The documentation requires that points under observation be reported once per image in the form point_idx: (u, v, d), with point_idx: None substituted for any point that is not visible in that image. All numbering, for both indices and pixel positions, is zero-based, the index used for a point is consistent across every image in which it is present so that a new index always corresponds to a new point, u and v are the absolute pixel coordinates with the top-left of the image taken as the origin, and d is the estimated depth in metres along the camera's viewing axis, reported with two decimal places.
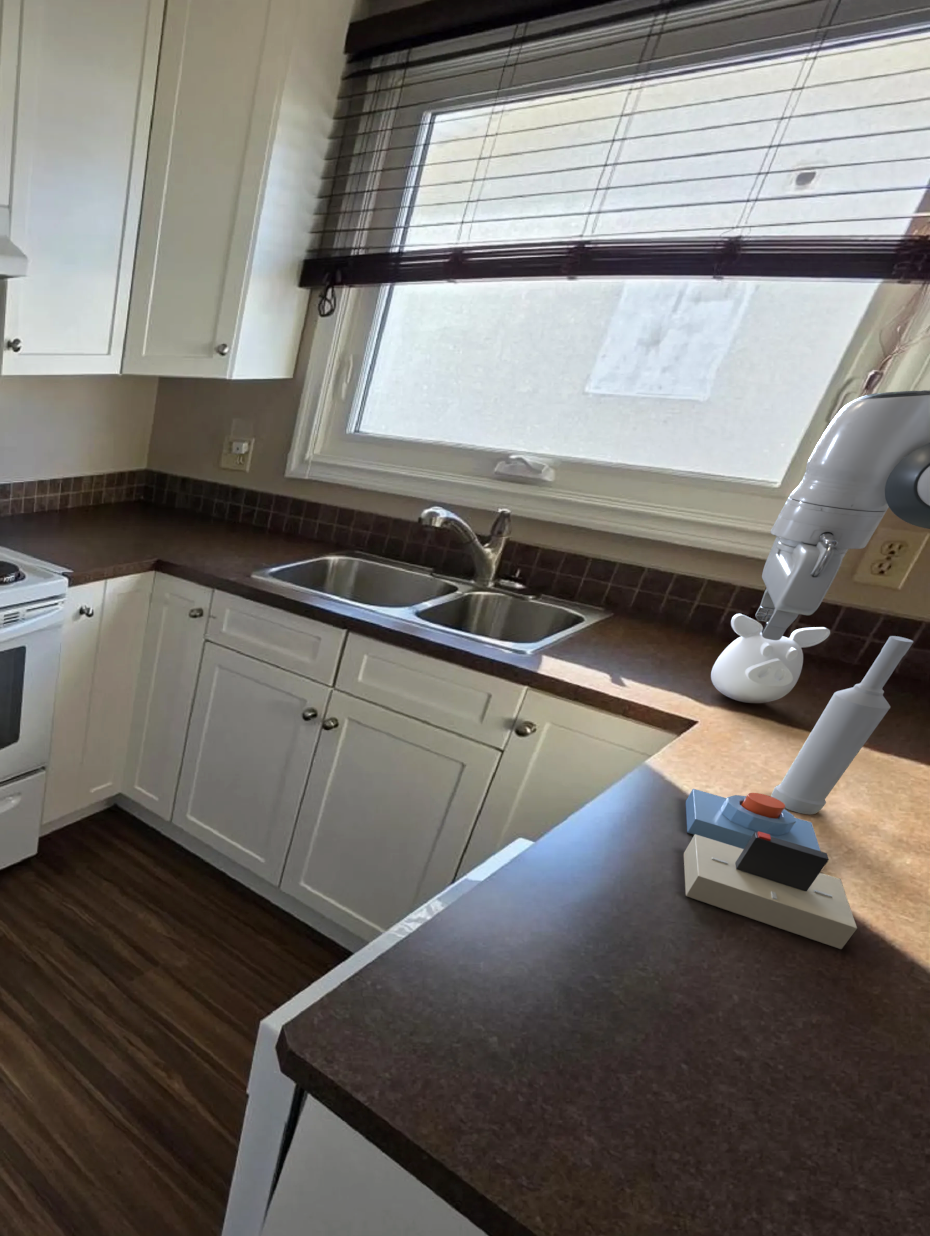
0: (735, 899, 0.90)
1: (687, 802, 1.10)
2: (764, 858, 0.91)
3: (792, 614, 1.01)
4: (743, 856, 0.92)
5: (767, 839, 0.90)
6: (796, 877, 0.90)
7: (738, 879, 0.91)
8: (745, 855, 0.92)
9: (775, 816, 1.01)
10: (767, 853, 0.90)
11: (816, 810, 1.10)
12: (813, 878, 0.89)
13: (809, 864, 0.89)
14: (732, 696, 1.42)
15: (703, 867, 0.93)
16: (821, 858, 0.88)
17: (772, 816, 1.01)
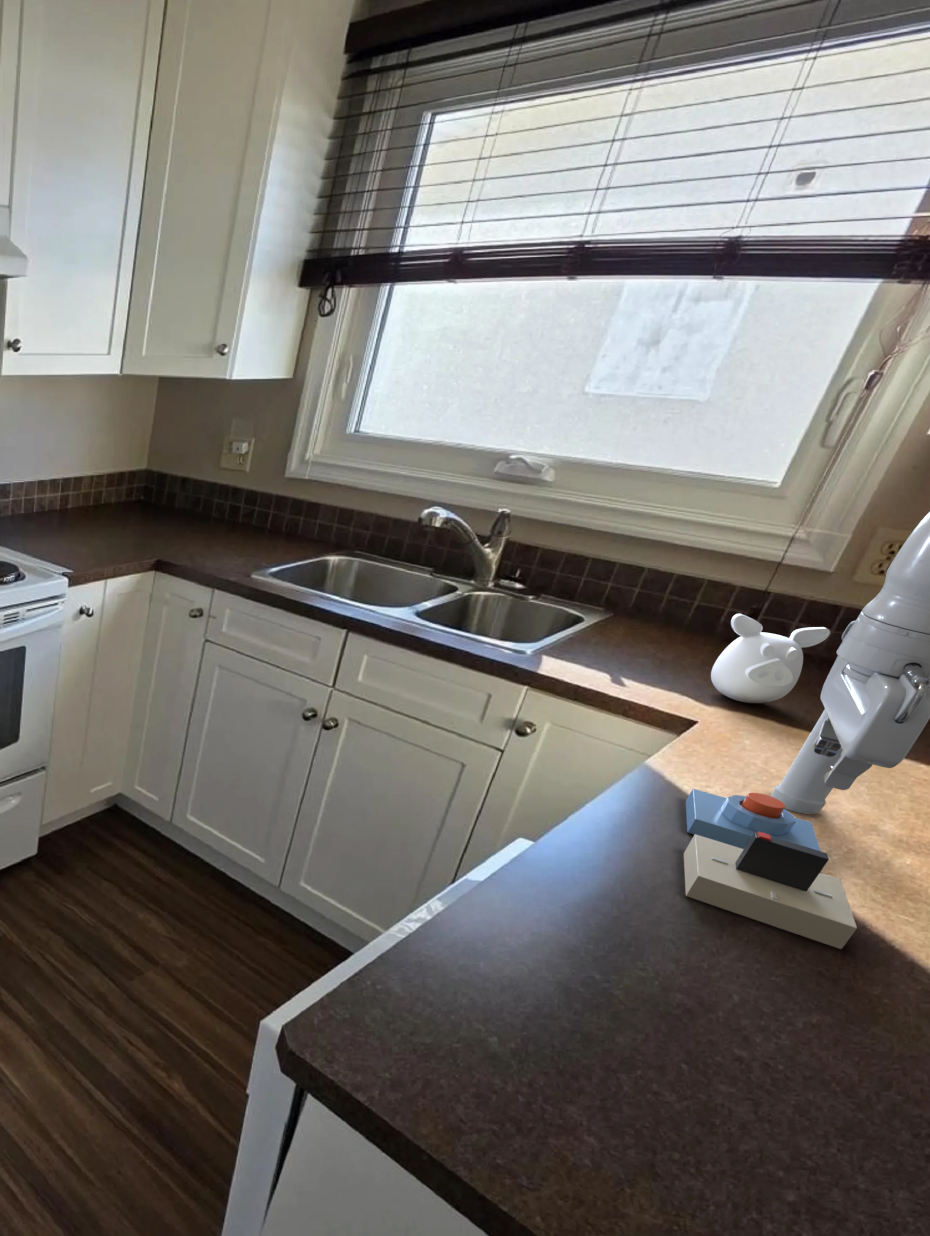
0: (735, 899, 0.90)
1: (687, 802, 1.10)
2: (764, 858, 0.91)
3: None
4: (743, 856, 0.92)
5: (767, 839, 0.90)
6: (796, 877, 0.90)
7: (738, 879, 0.91)
8: (745, 855, 0.92)
9: (775, 816, 1.01)
10: (767, 853, 0.90)
11: (816, 810, 1.10)
12: (813, 878, 0.89)
13: (809, 864, 0.89)
14: (732, 696, 1.42)
15: (703, 867, 0.93)
16: (821, 858, 0.88)
17: (772, 816, 1.01)
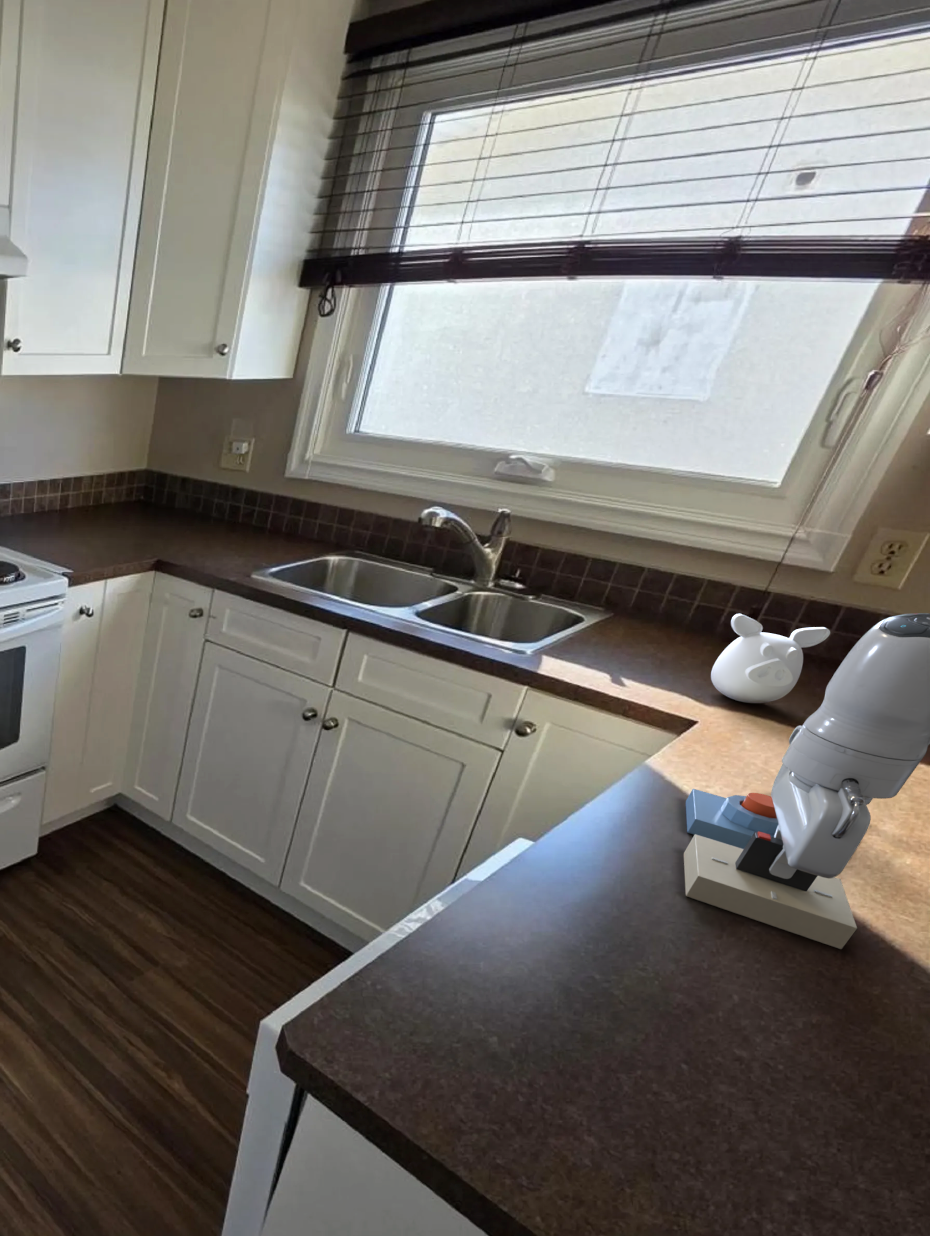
0: (735, 899, 0.90)
1: (687, 802, 1.10)
2: (764, 858, 0.91)
3: None
4: (743, 856, 0.92)
5: (767, 839, 0.90)
6: (796, 877, 0.90)
7: (738, 879, 0.91)
8: (745, 855, 0.92)
9: (775, 816, 1.01)
10: (767, 853, 0.90)
11: None
12: (813, 878, 0.89)
13: None
14: (732, 696, 1.42)
15: (703, 867, 0.93)
16: None
17: (772, 816, 1.01)
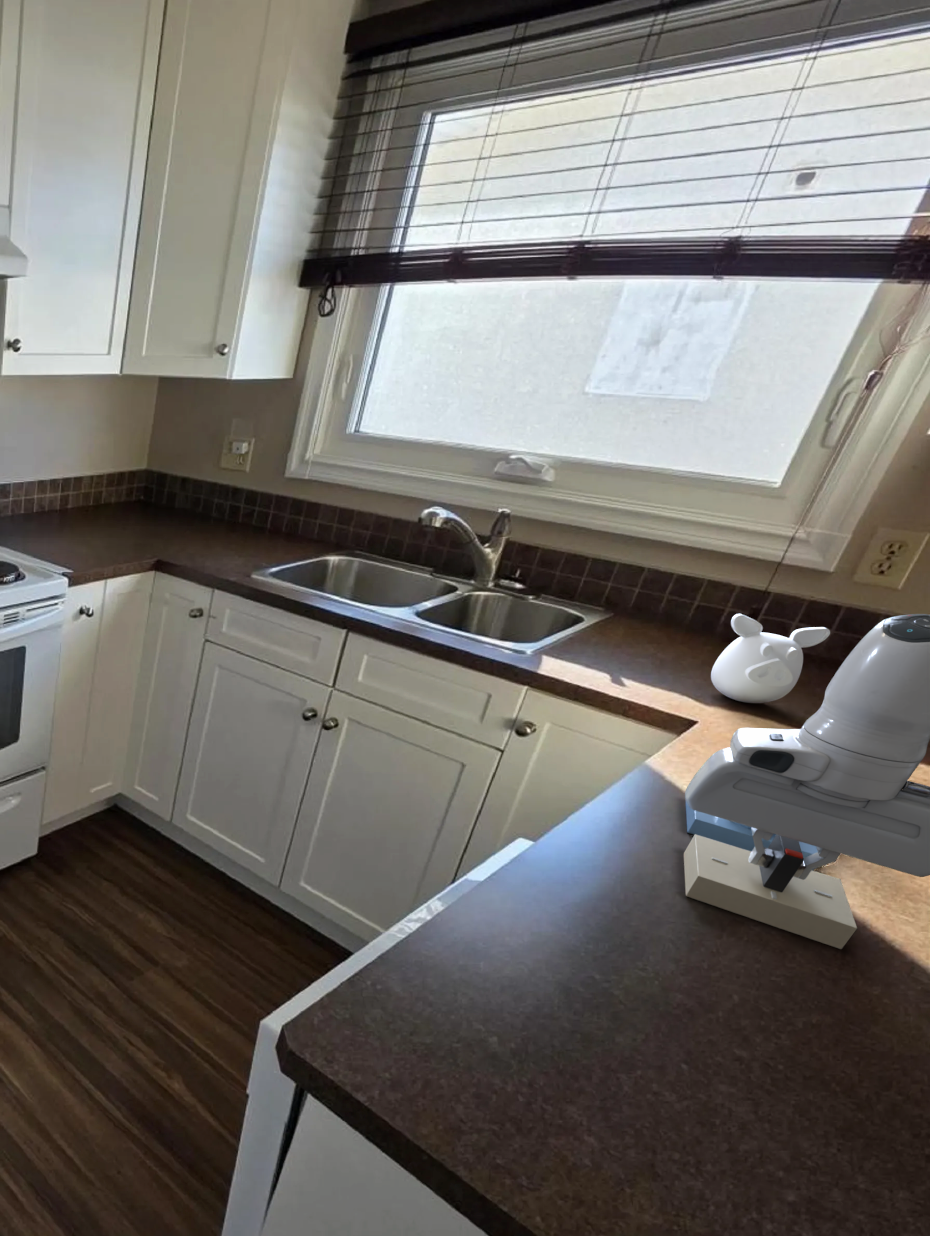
0: (735, 899, 0.90)
1: None
2: None
3: None
4: (787, 879, 0.88)
5: None
6: None
7: (738, 879, 0.91)
8: (791, 878, 0.88)
9: None
10: None
11: None
12: None
13: None
14: (732, 696, 1.42)
15: (703, 867, 0.93)
16: None
17: None
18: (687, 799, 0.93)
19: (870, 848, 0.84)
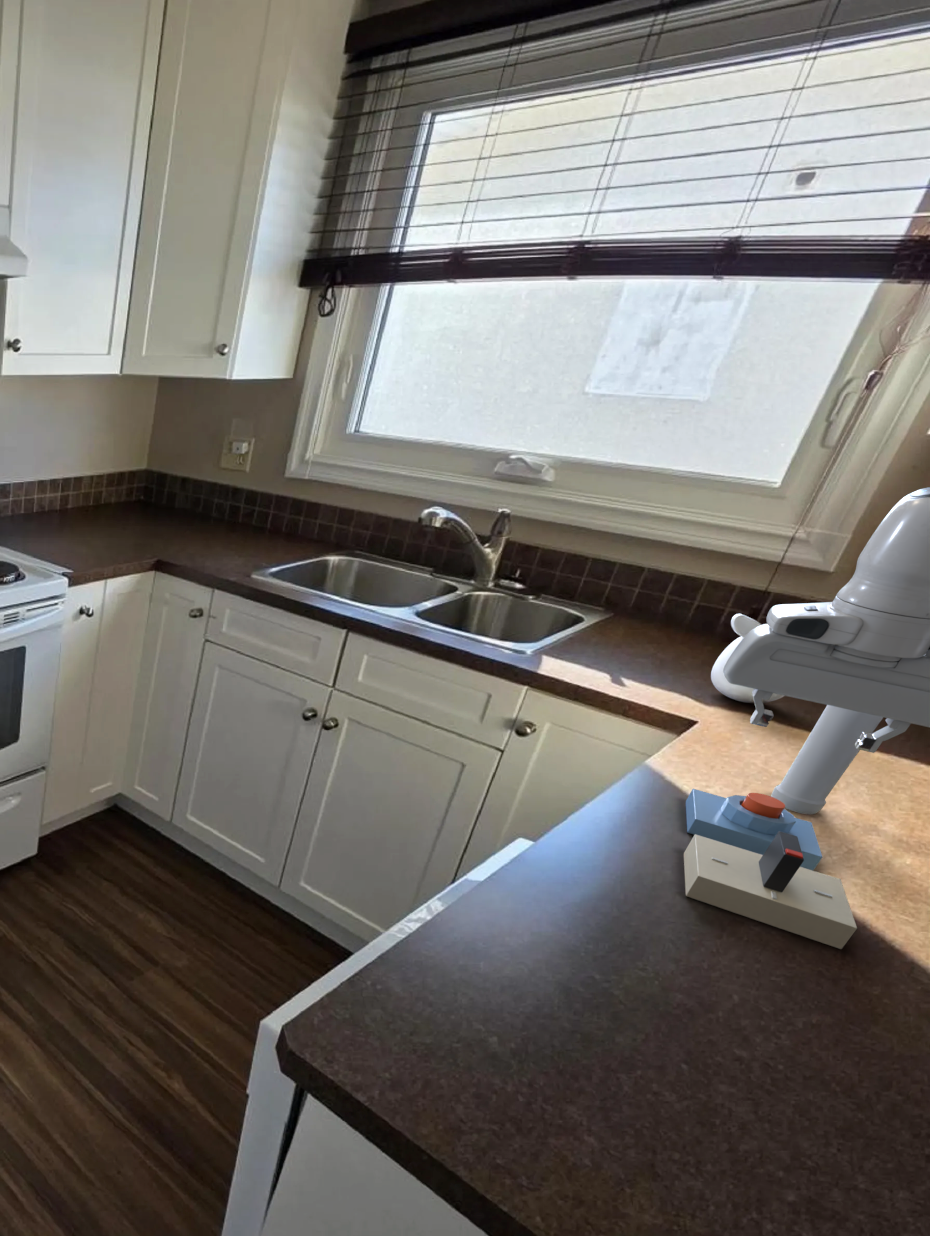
0: (735, 899, 0.90)
1: (687, 802, 1.10)
2: None
3: None
4: (787, 879, 0.88)
5: None
6: None
7: (738, 879, 0.91)
8: (791, 878, 0.88)
9: (775, 816, 1.01)
10: None
11: (816, 810, 1.10)
12: None
13: None
14: (732, 696, 1.42)
15: (703, 867, 0.93)
16: (797, 839, 0.91)
17: (772, 816, 1.01)
18: (726, 674, 0.99)
19: (900, 707, 0.91)
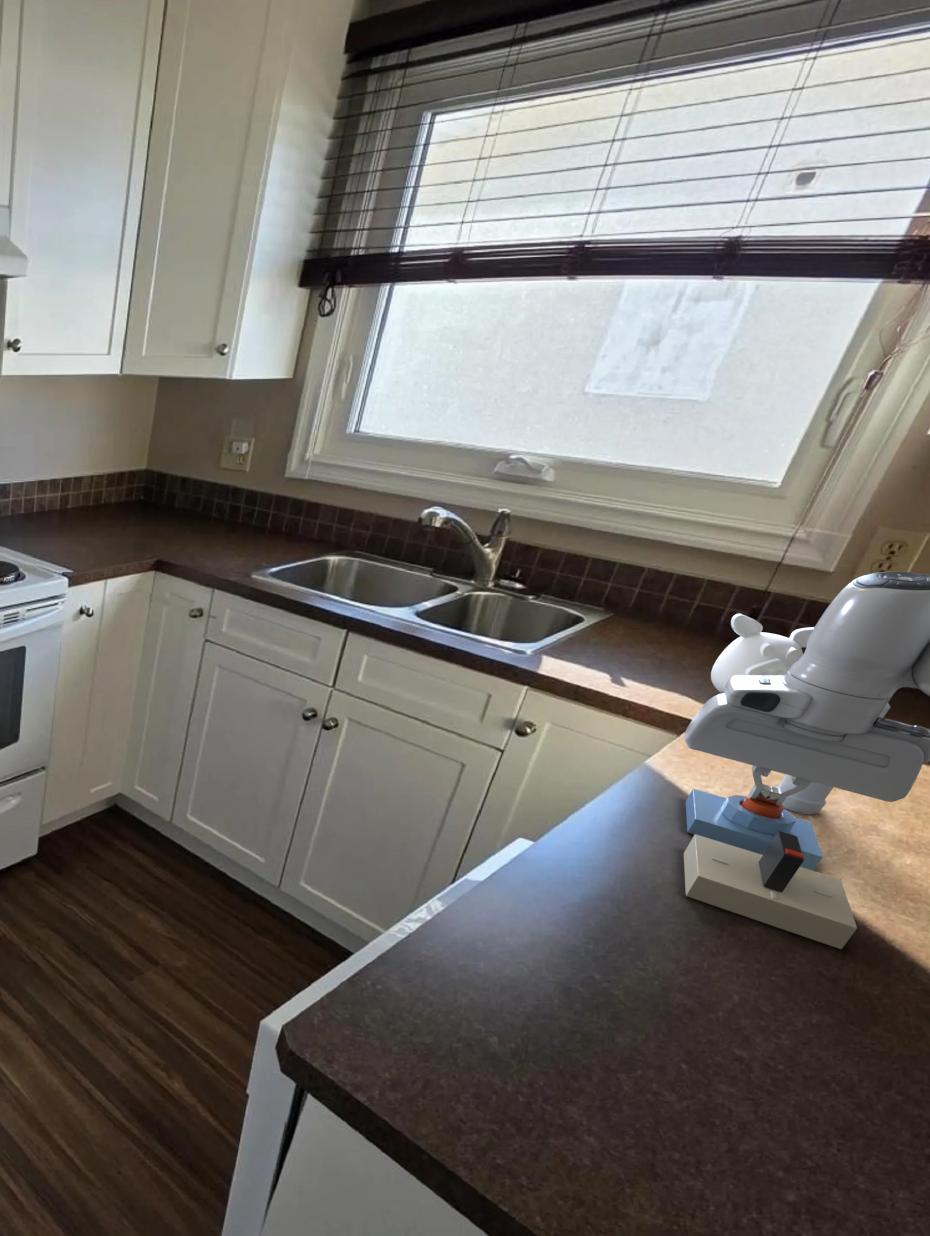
0: (735, 899, 0.90)
1: (687, 802, 1.10)
2: None
3: None
4: (787, 879, 0.88)
5: None
6: None
7: (738, 879, 0.91)
8: (791, 878, 0.88)
9: None
10: None
11: (816, 810, 1.10)
12: None
13: None
14: None
15: (703, 867, 0.93)
16: (797, 839, 0.91)
17: None
18: (686, 739, 1.04)
19: (846, 777, 0.96)
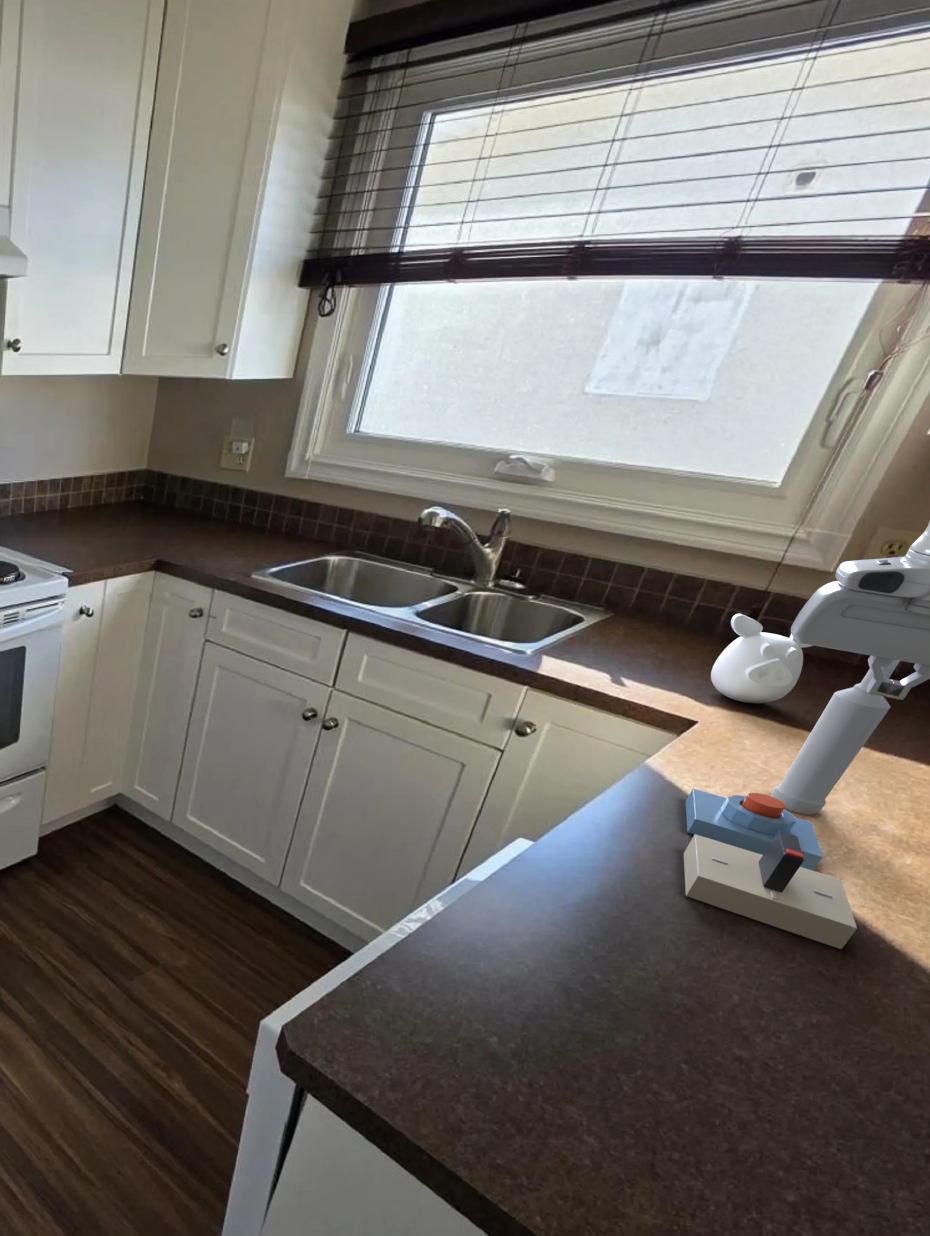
0: (735, 899, 0.90)
1: (687, 802, 1.10)
2: None
3: None
4: (787, 879, 0.88)
5: None
6: None
7: (738, 879, 0.91)
8: (791, 878, 0.88)
9: (775, 816, 1.01)
10: None
11: (816, 810, 1.10)
12: None
13: None
14: (732, 696, 1.42)
15: (703, 867, 0.93)
16: (797, 839, 0.91)
17: (772, 816, 1.01)
18: (795, 633, 0.97)
19: None
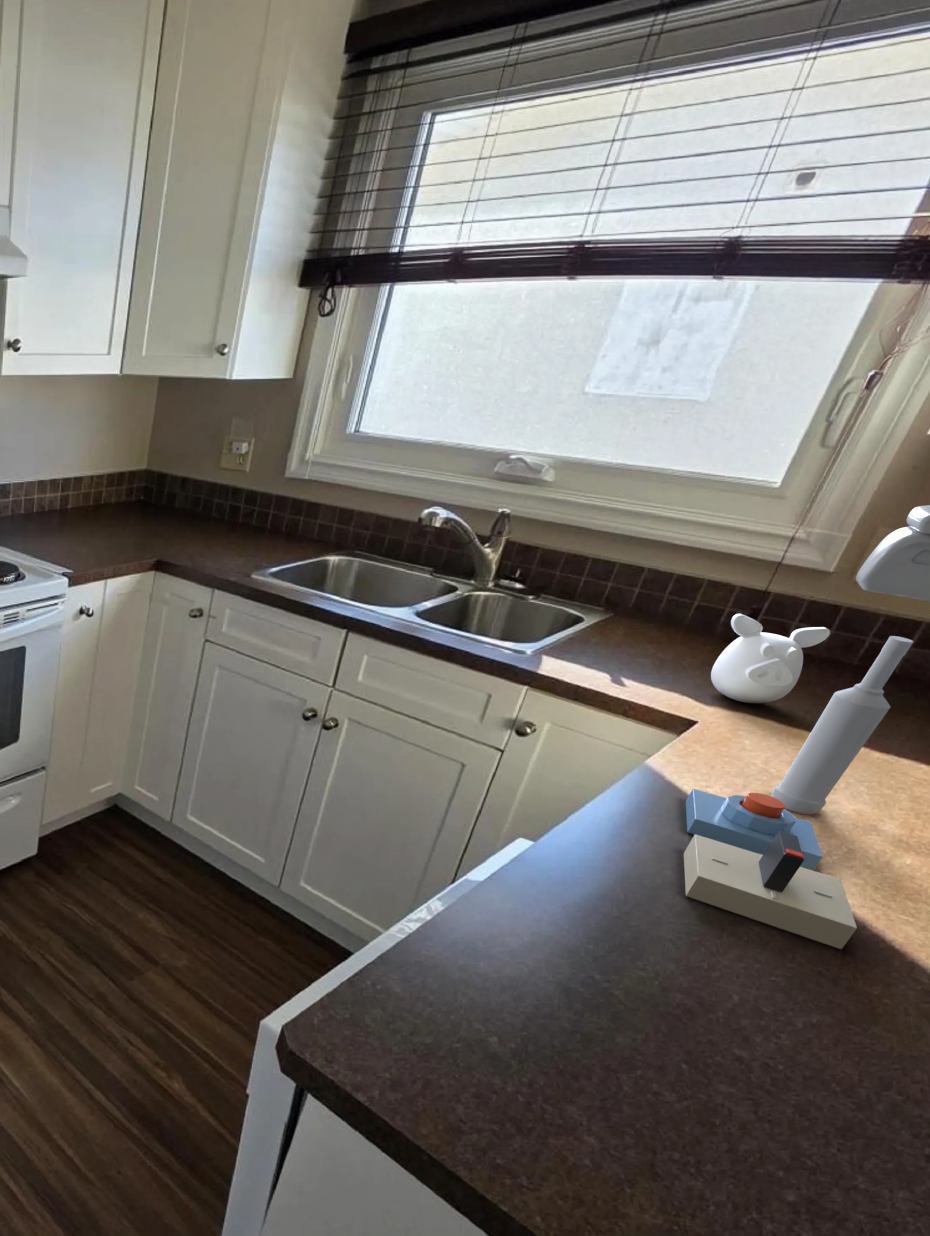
0: (735, 899, 0.90)
1: (687, 802, 1.10)
2: None
3: None
4: (787, 879, 0.88)
5: None
6: None
7: (738, 879, 0.91)
8: (791, 878, 0.88)
9: (775, 816, 1.01)
10: None
11: (816, 810, 1.10)
12: None
13: None
14: (732, 696, 1.42)
15: (703, 867, 0.93)
16: (797, 839, 0.91)
17: (772, 816, 1.01)
18: (861, 580, 0.95)
19: None
